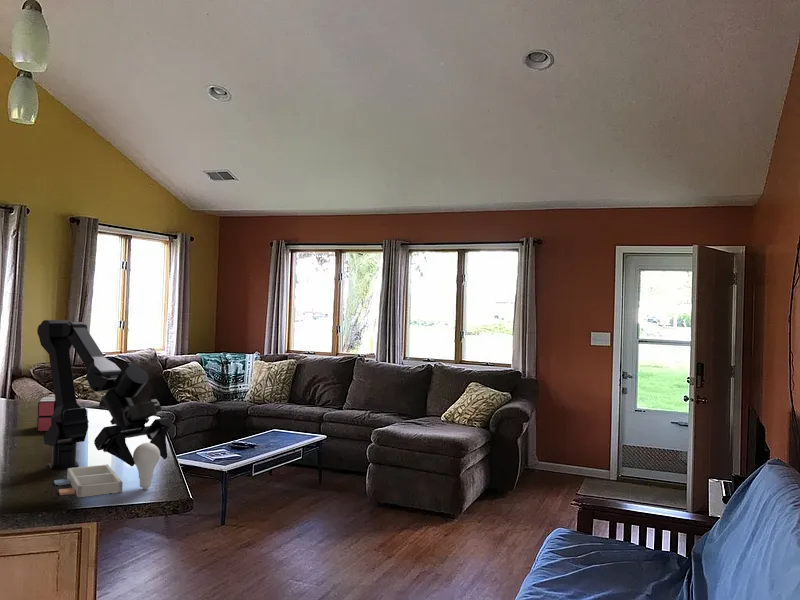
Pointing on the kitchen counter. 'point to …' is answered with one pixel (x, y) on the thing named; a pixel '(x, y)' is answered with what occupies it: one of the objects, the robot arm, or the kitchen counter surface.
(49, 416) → the puzzle cube
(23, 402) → the kitchen counter surface
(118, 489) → the socket board
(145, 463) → the lightbulb
